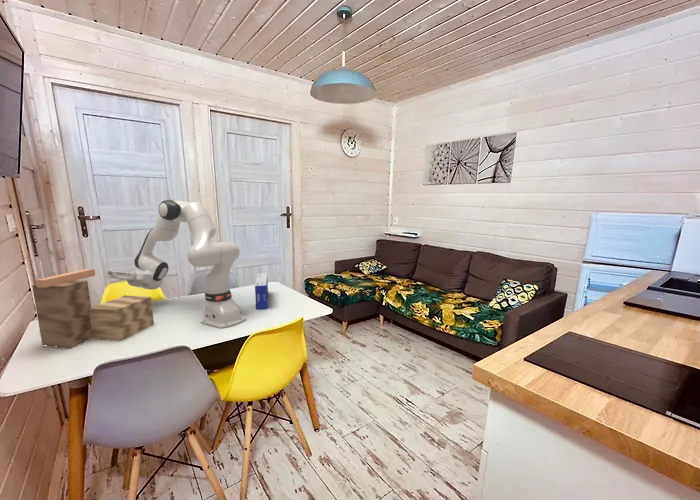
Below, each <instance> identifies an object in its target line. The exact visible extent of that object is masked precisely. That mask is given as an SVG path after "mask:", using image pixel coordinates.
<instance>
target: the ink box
mask: <svg viewBox="0 0 700 500" xmlns="http://www.w3.org/2000/svg"><path fill="white" fill-rule="evenodd" d="M268 283H269V282H268V272H262V273H261V272H259V273H256V278H255V284H254V294H255V310H256V311H258V310H268V307H269V306H268V303H269V285H268Z"/></svg>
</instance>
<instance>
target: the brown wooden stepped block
mask: <svg viewBox="0 0 700 500" xmlns="http://www.w3.org/2000/svg"><path fill="white" fill-rule="evenodd" d="M31 288H32V292H33V296H34V297H33V299H34V302H35V303H34V305H35V309H36V315H37V321H38V327H39V332H40V334H39V335H40V338H41V346H42V345H47V346H57V347H56V348H59V347H70V348H69V349H73V348H72V347H74V346H76V345H78V344H80V343H82V344H84V343H83V342H85V341H87V340H89V339H91V340H93V339H92V338H100V339H99V340H103V339H110V340H109V341H116V340H122V341H123V339H124V340H126V339H128V338H130V337H132V336H134V335H135V333H136V334H137V332H138V333H139V331H140V332H142V331H143V329H144V330H145V328H146V329H147V327H148V328H150V327H152V326H154V325H155V322H154V313H153V312H154V311H153V304H152V296H142V295H123V296H120V297H117V298H114V299H112V300H109V301H105V302H103V303H99V304H96V305H94V306H92V305H91V298H90V291H89V283H88V280H83V279H79V280H75V281H71V282H67V283H63V284H59V285H55V286H50V287H46V288H41V287H37V285H36V284H33V285H32V287H31ZM153 324H154V325H153ZM151 325H152V326H151ZM149 326H150V327H149ZM141 330H142V331H141ZM133 334H134V335H133ZM131 335H132V336H131ZM129 336H130V337H129ZM127 337H128V338H127ZM125 338H126V339H125ZM89 341H90V340H89ZM87 342H88V341H87ZM85 343H86V342H85ZM80 345H81V344H80ZM47 346H46V347H47ZM78 346H79V345H78ZM76 347H77V346H76ZM74 348H75V347H74Z"/></svg>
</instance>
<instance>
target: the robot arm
mask: <svg viewBox="0 0 700 500" xmlns="http://www.w3.org/2000/svg"><path fill="white" fill-rule="evenodd" d="M158 214H159V215H158V217H157V219H156V222H155V226H154V228H152V229H150V230H149V231H148V233H147V234H146V236H145V238H144V240H143V243H142V245H141V247H140V250H139V252H138V254H137V255H136V256H135V258H134V266H135V268H137V269H134V270H131V271H130V272H129V271H118V270H107V271H106V275H105V276H106V278H108V279H113V280H119V281H126V282H127V284H128V285H129V286H132V287H135V288H139V289H140V288H141V289H146V290H157V289H159V288H161V286H162V285H163V283H164V282H163V281H164V280H163V279H164V278H165V277H166V276H167V275H168V272H169V263H168V262H166V261H164V260H162V259H161V258H159V257H156V256H154V254H153V251H154V249H155V246H156V244H157V242H170V241H173V240H175V238H176V237H177V236H178V233H179V230H180V226H181V222H182V223H183V222H184V223H187V225H188V227H189V230H190V232H191V235H192V237H193V244H192V245H191V247H190V248H189V249H188V251H187V260H188V262H189V264H190V265H191V266H193V267H195V268H196V267H197V268H205V267H211V266H213V267H212V269H211V270H210V271H209V272H208V273H206V275H205V278H204V287H205V288H204V289H205V291H204V300H205V301H204V304H203V307H202V308H203V309H202V318H201V320H200V323H201V324H202V325H207V326H212V327H214V328H217V329H224V328H229V327H232V326H233V327H234V326H236V325H238V324H241V323H243V322H245V321H246V320H247V319H246V317H245V316H244V315H242V314H241V306H240V305H239V304H236V301H234V299H233V295H232V292H231V289H230V278H229V277H230V273H231V268H232V267H233V265H234V263H235V262H236V261H237V259H238V258H239V257H240V252H241V251H240V248H239V246H238V245H237V244H236V243H235V242H231V241H220V242H213V241H212V239H213V238H214V237H215V235H216V234H217V228H216V225H215V224H214V223H213V220H212V218H211V216H210V214H209V212H208V211H207V209H206V208H205V206H204V205H203V204H202V203H201V202H198V201H191V202H190V201H185V200H177V199H176V200H175V199H174V200H172V199H166V200H163V201H161V202H160V203H159V204H158Z"/></svg>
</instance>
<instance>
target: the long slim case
mask: <svg viewBox="0 0 700 500" xmlns="http://www.w3.org/2000/svg"><path fill="white" fill-rule="evenodd" d="M90 277H96V270H95V268H84V269H79V270H74V271H71V272H65V273H60V274H58V275H51V276H47V277H42V278H38V279H35V283H36V284H35V285H37V287H41V288H46V287H50V286H55V285H59V284H63V283H67V282H71V281H75V280H83V279H87V278H90Z"/></svg>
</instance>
